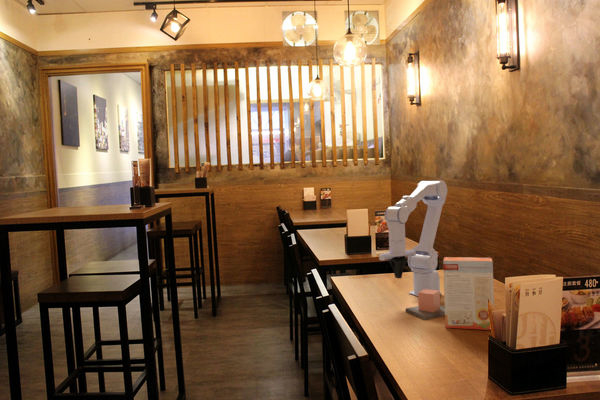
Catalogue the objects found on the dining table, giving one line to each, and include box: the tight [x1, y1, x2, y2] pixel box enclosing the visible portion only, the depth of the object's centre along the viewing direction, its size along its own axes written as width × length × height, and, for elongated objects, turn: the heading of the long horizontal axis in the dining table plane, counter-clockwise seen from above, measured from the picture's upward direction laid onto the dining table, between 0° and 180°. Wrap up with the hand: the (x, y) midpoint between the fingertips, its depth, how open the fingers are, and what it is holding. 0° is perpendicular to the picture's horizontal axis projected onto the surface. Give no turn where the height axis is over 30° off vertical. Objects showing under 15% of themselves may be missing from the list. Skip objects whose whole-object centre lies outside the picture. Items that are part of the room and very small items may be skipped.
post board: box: [405, 304, 445, 320], centre depth 160 cm, size 12×10×6 cm
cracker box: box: [442, 256, 495, 331], centre depth 145 cm, size 14×6×21 cm, turn 71°
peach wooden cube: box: [417, 289, 441, 312], centre depth 160 cm, size 5×5×6 cm
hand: (398, 277), depth 172 cm, fingers closed
